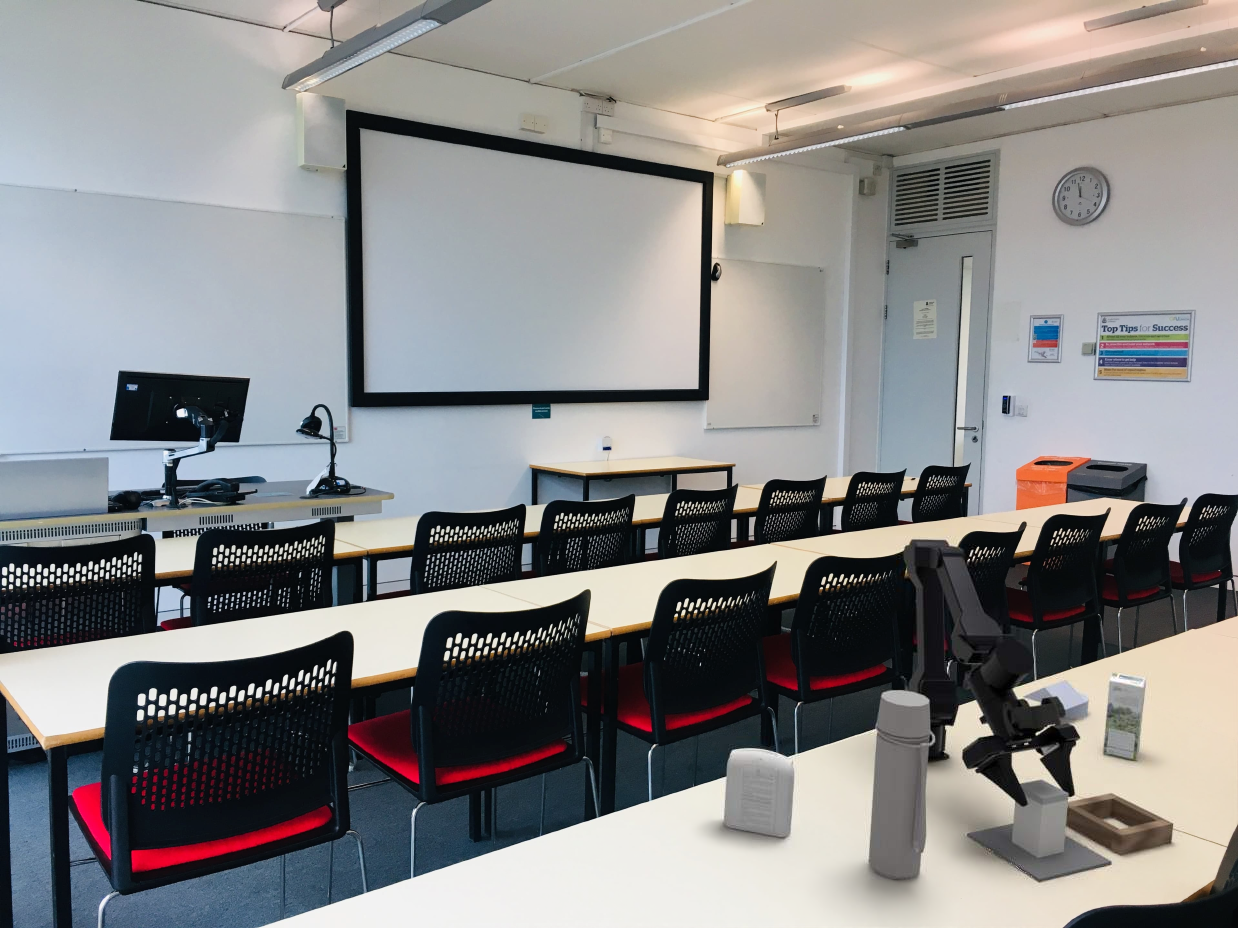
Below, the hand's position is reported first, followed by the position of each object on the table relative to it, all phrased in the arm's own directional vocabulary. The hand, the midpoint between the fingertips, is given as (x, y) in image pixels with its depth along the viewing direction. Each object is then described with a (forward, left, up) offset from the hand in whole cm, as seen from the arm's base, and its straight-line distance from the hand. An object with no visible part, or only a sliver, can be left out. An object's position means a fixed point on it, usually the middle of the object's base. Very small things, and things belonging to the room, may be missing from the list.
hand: (1049, 800), depth 144 cm
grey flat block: (-36, +21, -8) cm, 43 cm away
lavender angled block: (+50, +43, -8) cm, 67 cm away
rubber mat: (0, +1, -8) cm, 8 cm away
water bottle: (-24, +3, -8) cm, 26 cm away
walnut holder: (+16, +1, -8) cm, 18 cm away
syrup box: (+44, +23, -8) cm, 51 cm away
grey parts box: (0, +1, -8) cm, 8 cm away
